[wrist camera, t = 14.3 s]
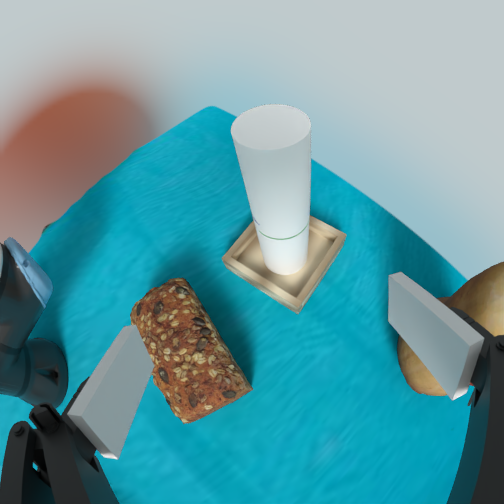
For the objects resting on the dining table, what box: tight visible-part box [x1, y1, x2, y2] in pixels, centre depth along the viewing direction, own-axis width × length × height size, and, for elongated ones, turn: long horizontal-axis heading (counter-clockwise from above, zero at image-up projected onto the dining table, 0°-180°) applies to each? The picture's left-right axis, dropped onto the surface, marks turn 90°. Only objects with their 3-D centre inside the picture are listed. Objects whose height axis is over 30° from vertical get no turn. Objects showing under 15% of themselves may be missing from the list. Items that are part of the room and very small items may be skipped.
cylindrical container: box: [231, 104, 311, 275], centre depth 34 cm, size 7×7×25 cm
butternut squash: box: [397, 262, 504, 396], centre depth 23 cm, size 14×13×25 cm
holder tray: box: [222, 216, 346, 314], centre depth 44 cm, size 14×14×4 cm
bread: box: [130, 278, 253, 424], centre depth 36 cm, size 19×11×10 cm, turn 31°
